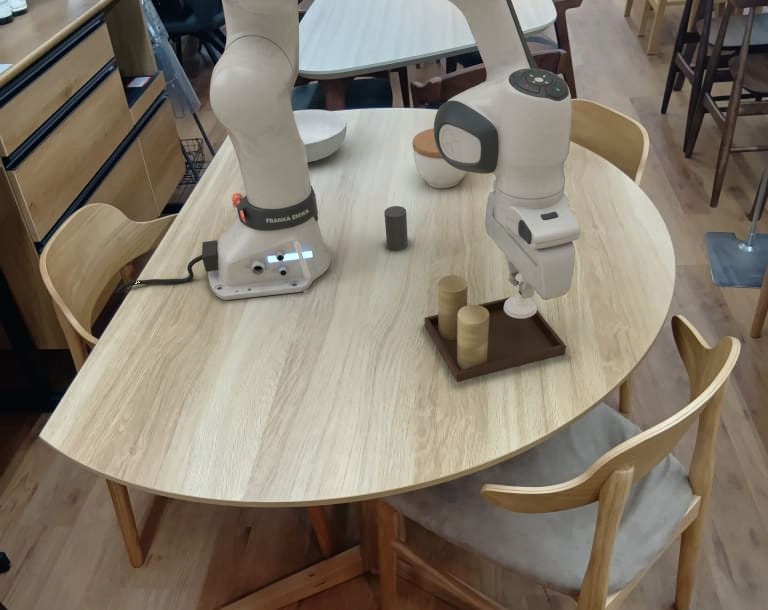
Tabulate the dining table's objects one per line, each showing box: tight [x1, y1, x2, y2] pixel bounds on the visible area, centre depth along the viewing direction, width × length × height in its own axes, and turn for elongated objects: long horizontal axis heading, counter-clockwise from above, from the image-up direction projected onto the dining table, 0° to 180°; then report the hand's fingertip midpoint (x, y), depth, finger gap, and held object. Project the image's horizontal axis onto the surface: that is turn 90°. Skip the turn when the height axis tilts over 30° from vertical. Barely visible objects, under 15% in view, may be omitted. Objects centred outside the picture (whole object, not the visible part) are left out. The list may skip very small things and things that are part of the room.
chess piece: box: [504, 272, 538, 318], centre depth 97 cm, size 5×5×10 cm
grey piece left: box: [383, 205, 409, 251], centre depth 123 cm, size 4×4×7 cm
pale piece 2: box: [457, 304, 489, 370], centre depth 96 cm, size 4×4×9 cm
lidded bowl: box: [411, 127, 468, 189], centre depth 140 cm, size 13×13×11 cm
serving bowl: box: [293, 109, 348, 163], centre depth 156 cm, size 21×21×7 cm
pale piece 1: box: [437, 274, 469, 340], centre depth 102 cm, size 4×4×9 cm
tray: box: [423, 296, 567, 383], centre depth 102 cm, size 17×14×2 cm
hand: (520, 289), depth 98 cm, fingers closed on chess piece
